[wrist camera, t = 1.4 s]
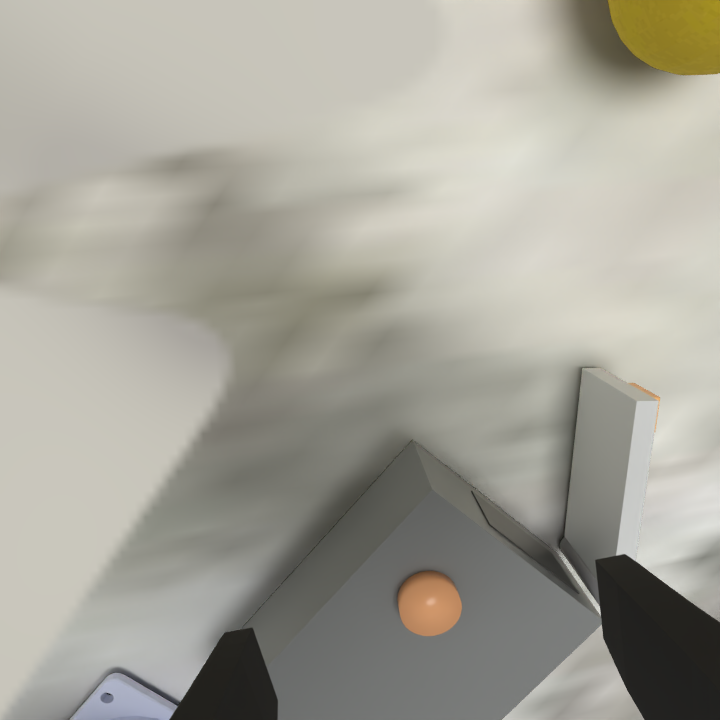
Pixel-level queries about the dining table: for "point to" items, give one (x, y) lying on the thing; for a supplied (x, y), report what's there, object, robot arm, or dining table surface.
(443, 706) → the case
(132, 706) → the robot arm
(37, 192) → the dining table surface
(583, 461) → the door
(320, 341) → the dining table surface
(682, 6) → the lemon
